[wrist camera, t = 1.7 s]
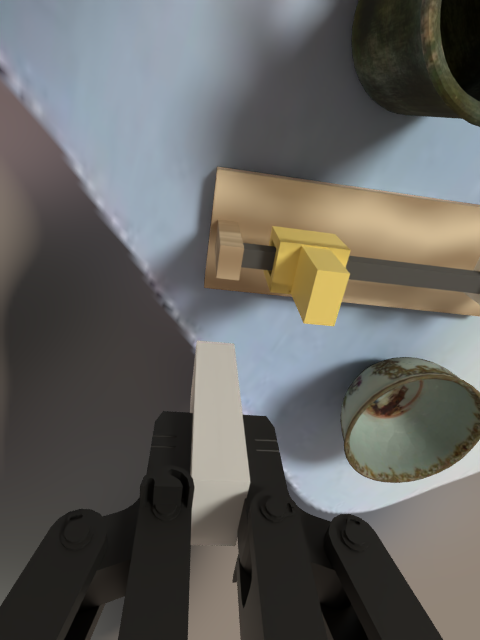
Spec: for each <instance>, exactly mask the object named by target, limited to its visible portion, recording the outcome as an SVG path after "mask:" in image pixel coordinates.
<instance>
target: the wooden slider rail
mask: <svg viewBox="0 0 480 640" xmlns="http://www.w3.org/2000/svg"><path fill="white" fill-rule="evenodd" d="M272 226H276V227H284V228H292V229H300V230H308V231H316V232H323V233H331V234H335V235H336V236H337V237H338V238H339V239H340V240H341V241H342V242H343V243H344V244H345V245H346V246H347V247H348V248H349V249H350V250H351V251H350V254H349V256H357V257H365V258H374V259H382V260H390V261H398V262H407V263H415V264H423V265H431V266H440V267H448V268H456V269H465V270H474V268H475V266H476V263H477V261H478V259H479V257H480V205H476V204H470V203H463V202H456V201H449V200H442V199H435V198H429V197H422V196H415V195H408V194H401V193H395V192H388V191H381V190H374V189H367V188H360V187H354V186H347V185H340V184H333V183H326V182H319V181H313V180H306V179H299V178H292V177H285V176H279V175H272V174H265V173H258V172H251V171H244V170H238V169H231V168H224V167H217V173H216V182H215V191H214V199H213V208H212V217H211V226H210V235H209V244H208V253H207V262H206V271H205V280H204V288H211V289H221V290H230V291H240V292H250V293H259V294H269V295H279V296H288V297H292V295H291V294H282V293H272V292H270V290H269V287H268V284H267V281H266V278H265V275H264V270H261V269H252V268H243V267H241V265H242V258H243V252H244V245H243V243H249V244H258V245H266V246H269V241H270V236H271V231H272ZM342 302H346V303H356V304H366V305H375V306H385V307H395V308H404V309H414V310H424V311H433V312H443V313H453V314H462V315H472V316H480V305H479V304H478V303H477V302H475V301H474V300H473V299H471V298H470V297H469V296H467V295H466V294H465V293H463V292H457V291H448V290H439V289H430V288H422V287H413V286H404V285H395V284H386V283H377V282H368V281H359V280H350V279H348V283H347V286H346V289H345V292H344V296H343V299H342Z"/></svg>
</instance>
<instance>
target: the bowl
mask: <svg viewBox="0 0 480 640" xmlns="http://www.w3.org/2000/svg"><path fill="white" fill-rule="evenodd" d="M341 428H342V435H343V439H344V451H345V455H346V458H347V460H348V462H349V464H350V465H351V466H352V467H353V468H354V469H355V470H356V471H357V472H358V473H359V474H361V475H363V476H365V477H367V478H370V479H373V480H376V481H381V482H390V483H400V482H410V481H415V480H419V479H423V478H426V477H429V476H431V475H434V474H437V473H439V472H441V471H443V470H445V469H447V468H449V467H450V466H452V465H453V464H455V463H456V462H458V461H459V460H461V459H462V458H463V457H464V456H465V455H466V454H467V453H468V452H469V451H470V450H471V449H472V448H473V447H474V446H475V445H476V443H477V442H478V441H479V440H480V392H479V391H478V390H476V389H475V388H474V387H473V386H472V385H470V384H468V383H467V382H465V381H464V380H461V379H460V378H459V377H457V376H456V375H455V374H453V373H452V372H450V371H449V370H447V369H446V368H444V367H442V366H440V365H438V364H436V363H433V362H430V361H427V360H423V359H419V358H411V357H400V358H391V359H387V360H384V361H381V362H379V363H377V364H374V365H372V366H370V367H368V368H367V369H366V370H364V371H363V372H362V373H361V374H360V375H359V376H358V377H357V378H356V379H355V380H354V381H353V383H352V384H351V385H350V387H349V389H348V391H347V393H346V395H345V397H344V400H343V404H342V408H341Z"/></svg>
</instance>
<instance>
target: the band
mask: <svg viewBox="0 0 480 640" xmlns="http://www.w3.org/2000/svg"><path fill="white" fill-rule="evenodd" d="M473 271H480V257H479V259H478V261H477V263H476V266H475V268H474V270H473ZM463 293H465V294H466V295H467V296H469V297H470V298H471V299H473V300H474V301H475V302H477V303H478V304H479V305H480V294H475V293H466V292H463Z"/></svg>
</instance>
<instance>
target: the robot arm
mask: <svg viewBox="0 0 480 640" xmlns="http://www.w3.org/2000/svg"><path fill="white" fill-rule="evenodd" d="M193 372H194V373H193V381H192V390H191V404H190V413H185V412H168V411H167V412H166V411H163V412H162V413H161V415H160V416H159V417H158V419H157V420H156V421H155V425H154V431H153V437H152V444H151V451H150V456H149V463H148V468H147V474H146V475H145V476H144V478H143V480H142V483H141V485H140V498H139V499H138V500H137V501H136V502H135V503H134V504H133V505H132V506H130V507H128V508H127V509H125V510H122V511H120V512H117V513H113V514H110V515H106V516H103V517H102V516H101V514H99V513H97V512H95V511H93V510H90V509H79V510H75V511H72V512H68V513H67V514H65V515H64V516H62V517H60V518H59V519H58V520H57V521H56V522H55V523H54V524H53V526H52V527H51V528H50V530H49V531H48V533H47V534H46V536H45V537H44V539H43V540H42V542H41V543H40V545H39V547H38V548H37V550H36V551H35V553H34V555H33V556H32V558H31V559H30V561H29V562H28V564H27V566H26V567H25V569H24V570H23V572H22V573H21V575H20V576H19V578H18V580H17V581H16V583H15V584H14V586H13V587H12V589H11V591H10V592H9V594H8V595H7V597H6V599H5V600H4V601H3V603H2V605H1V606H0V640H90V639H91V636H92V634H93V632H94V629H95V627H96V625H97V622H98V620H99V617H100V615H101V613H102V610H103V608H104V606H105V603H107V602H110V601H112V600H115V599H118V598H121V597H123V596H125V600H124V606H123V612H122V618H121V624H120V631H119V637H118V640H187V639H188V609H189V579H190V578H189V577H190V549H191V548H190V547H191V545H221V546H222V545H223V546H226V545H227V546H235V545H236V541H237V537H238V549H239V554H238V558H237V562H236V566H235V570H234V574H233V582H237V586H238V603H239V619H240V635H241V640H443V639H442V638H441V636H440V634H439V632H438V631H437V629H436V628H435V626H434V624H433V623H432V621H431V620H430V618H429V616H428V615H427V613H426V612H425V610H424V609H423V607H422V605H421V604H420V602H419V601H418V599H417V597H416V596H415V595H414V593H413V591H412V590H411V588H410V586H409V585H408V584H407V582H406V580H405V578H404V577H403V575H402V574H401V572H400V570H399V569H398V567H397V566H396V564H395V563H394V561H393V559H392V558H391V556H390V555H389V553H388V551H387V550H386V548H385V547H384V545H383V543H382V542H381V540H380V539H379V537H378V536H377V534H376V532H375V531H374V530H373V529H372V528H371V526H370V525H369V524H368V523H367V522H365V521H364V520H362V519H361V518H359V517H356V516H354V515H351V514H340V515H338V516H337V517H334V518H333V520H332V521H331V522H330V521H327V520H324V519H321V518H318V517H315V516H313V515H310V514H308V513H306V512H304V511H303V510H302V509H300V508H299V507H298V506H297V505H296V503H295V502H294V501H293V500H292V499H291V497H290V495H289V493H288V490H287V485H286V480H285V476H284V471H283V466H282V462H281V457H280V453H279V447H278V443H277V438H276V433H275V428H274V426H273V425H272V424H271V422H270V421H269V419H268V418H267V417H266V416H253V415H242V407H241V398H240V390H239V381H238V373H237V364H236V356H235V347H234V344H231V343H219V342H207V341H197V344H196V353H195V362H194V371H193Z"/></svg>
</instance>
